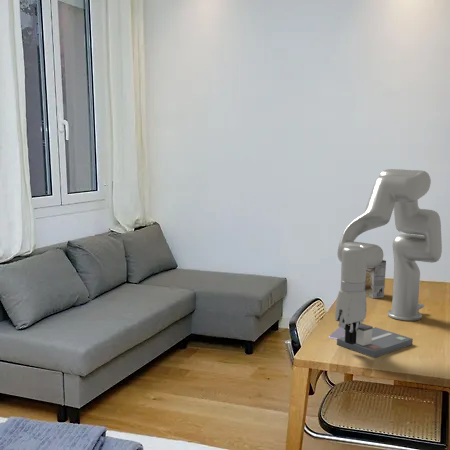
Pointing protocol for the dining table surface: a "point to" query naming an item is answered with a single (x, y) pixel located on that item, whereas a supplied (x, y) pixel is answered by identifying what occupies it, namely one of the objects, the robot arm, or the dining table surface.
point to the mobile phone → (338, 333)
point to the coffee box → (375, 281)
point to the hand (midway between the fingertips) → (350, 342)
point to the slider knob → (364, 334)
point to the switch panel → (379, 343)
